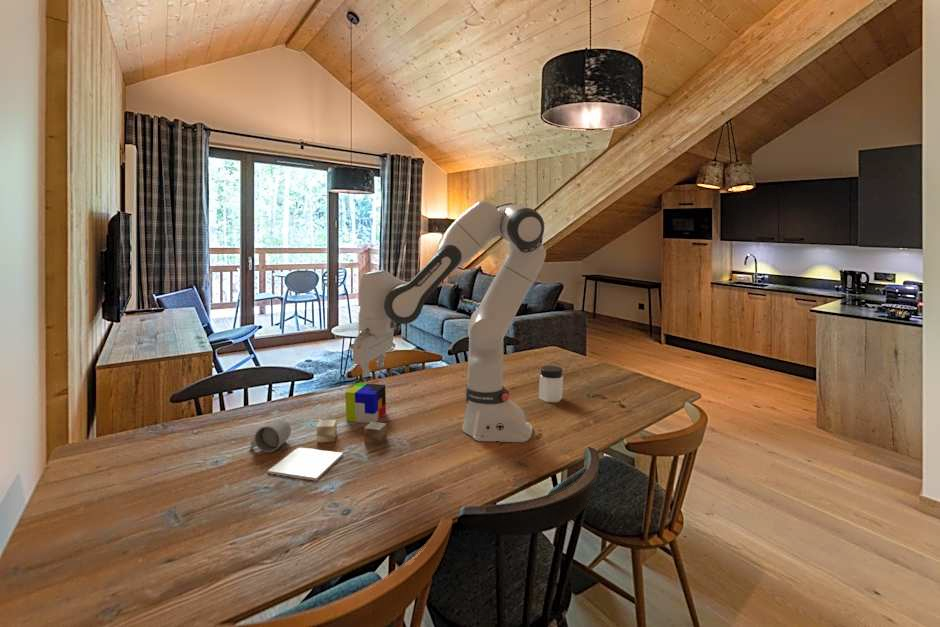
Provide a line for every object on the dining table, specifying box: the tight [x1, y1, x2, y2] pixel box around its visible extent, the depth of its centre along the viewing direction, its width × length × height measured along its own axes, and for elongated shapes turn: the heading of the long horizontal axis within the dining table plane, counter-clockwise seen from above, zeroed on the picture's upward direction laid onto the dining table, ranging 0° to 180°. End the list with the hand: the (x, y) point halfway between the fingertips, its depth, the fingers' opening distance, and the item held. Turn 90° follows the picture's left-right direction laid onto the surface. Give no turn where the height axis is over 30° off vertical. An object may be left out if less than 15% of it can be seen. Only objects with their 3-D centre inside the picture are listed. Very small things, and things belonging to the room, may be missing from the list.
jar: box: [538, 365, 564, 403], centre depth 180 cm, size 9×8×12 cm
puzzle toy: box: [344, 382, 387, 424], centre depth 161 cm, size 10×10×10 cm
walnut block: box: [363, 421, 388, 446], centre depth 142 cm, size 5×5×5 cm
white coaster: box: [267, 446, 344, 482], centre depth 128 cm, size 14×14×1 cm
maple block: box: [316, 419, 338, 443], centre depth 144 cm, size 5×5×5 cm
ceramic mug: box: [249, 418, 292, 453], centre depth 138 cm, size 11×8×8 cm
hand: (373, 371), depth 140 cm, fingers open, 8 cm apart
